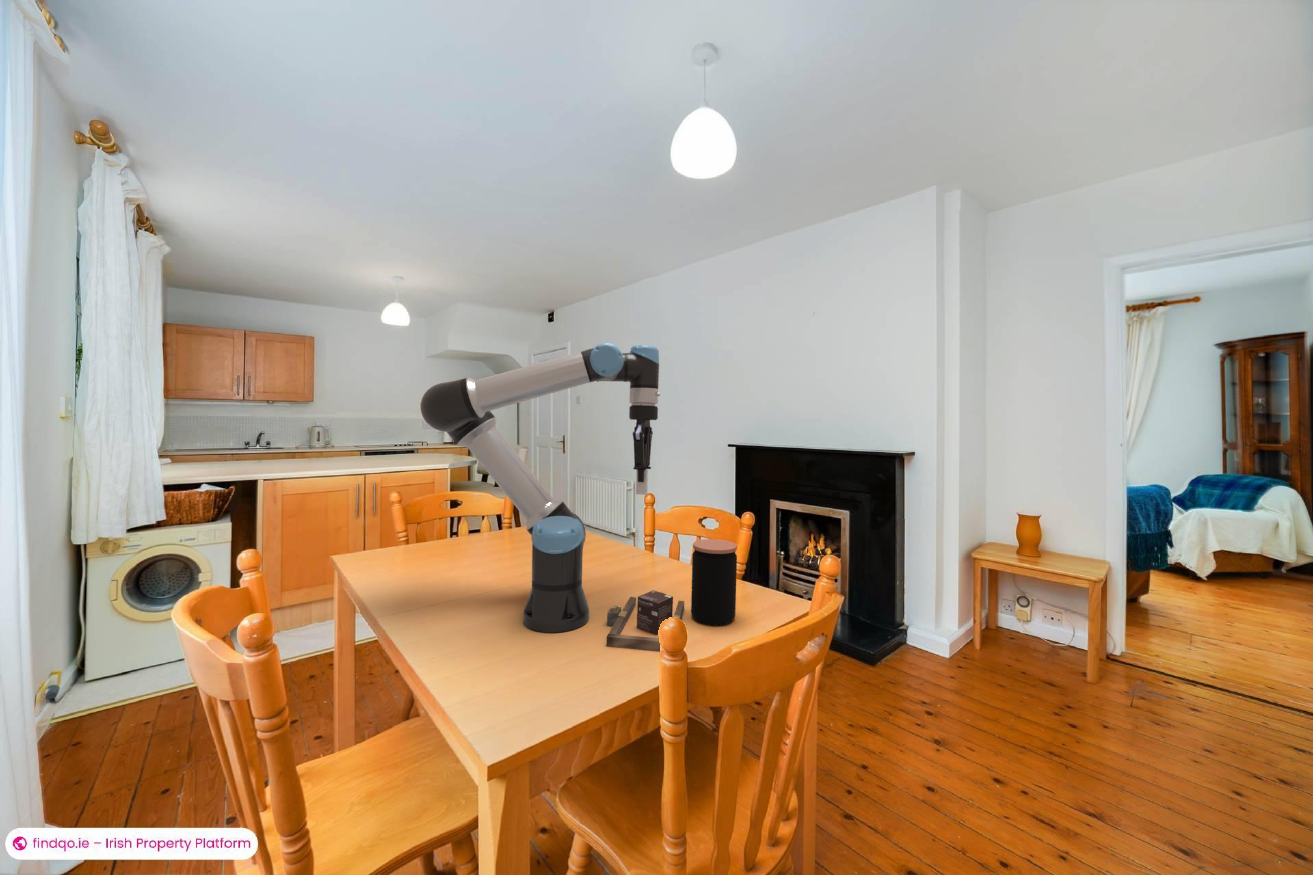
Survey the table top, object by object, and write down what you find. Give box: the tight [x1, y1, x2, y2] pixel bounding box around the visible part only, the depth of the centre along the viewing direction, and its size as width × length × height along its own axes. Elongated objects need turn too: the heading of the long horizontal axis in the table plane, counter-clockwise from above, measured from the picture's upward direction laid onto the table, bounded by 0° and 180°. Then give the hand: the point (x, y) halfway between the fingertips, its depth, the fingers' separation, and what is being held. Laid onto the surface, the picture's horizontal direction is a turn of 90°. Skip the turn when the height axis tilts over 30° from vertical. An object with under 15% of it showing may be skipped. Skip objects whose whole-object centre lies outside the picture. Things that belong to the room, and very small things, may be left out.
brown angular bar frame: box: [606, 596, 685, 652], centre depth 115 cm, size 17×24×4 cm
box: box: [636, 589, 674, 636], centre depth 114 cm, size 6×6×7 cm
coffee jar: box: [690, 538, 738, 627], centre depth 120 cm, size 11×11×18 cm
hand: (641, 493), depth 132 cm, fingers closed
